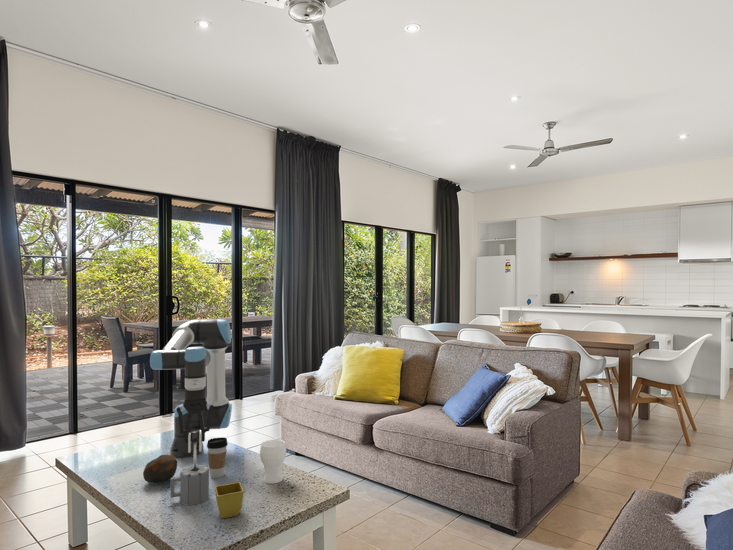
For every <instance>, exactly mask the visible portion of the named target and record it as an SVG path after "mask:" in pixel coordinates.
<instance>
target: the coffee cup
mask: <svg viewBox="0 0 733 550" xmlns="http://www.w3.org/2000/svg"><path fill="white" fill-rule="evenodd" d="M227 447H228V439H227V437H214V438H213V437H212V438H210V439H207V443H206V448H207V461H208V467H209V478H214V479H216V478H221V477H223V476H224V475H225V474H226V473H225V470H226V461H227Z"/></svg>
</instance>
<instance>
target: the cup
mask: <svg viewBox="0 0 733 550" xmlns="http://www.w3.org/2000/svg"><path fill="white" fill-rule="evenodd" d="M260 445H261V446H260V450H259V458H260V460H261V463H262V464H263V469H264V476H263V482H264V483H265V484H277V483H280V482H282V481H283V480H284V478H283V473H282V472H283V471H282V469H283V468H282V467H283V464H284V462H285V459H286V456H287V445H286V442H285V441H284V440H282V439H269V440H265V441H262V442H261V444H260Z"/></svg>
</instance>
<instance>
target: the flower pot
mask: <svg viewBox="0 0 733 550" xmlns="http://www.w3.org/2000/svg"><path fill="white" fill-rule="evenodd" d="M214 490H215V491H214V492H215V500H216V505H217V509H218V512H219V515H220V518H222V519H227V518H231V517H237V516H238V515H239V514H240V512H241V509H242V508H243V501H244V493H245V491H244V488H243V486H242V483H241V481H238V482H232V483H227V484H220V485H217V486H214Z"/></svg>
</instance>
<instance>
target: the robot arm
mask: <svg viewBox="0 0 733 550" xmlns="http://www.w3.org/2000/svg"><path fill="white" fill-rule="evenodd" d="M171 336H172V337H171V338H170V340H169V341H168V342H167V344H165V346H164V347H163V348H162V349H160V350H159V349H157V350H153V351H152V352H151V353H150V357H149V367H150V368H151V369H152V370H155V371H157V370H160V371H162V370H163V371H164V370H184V388H185V389H184V401H183V403H182V404H179V405H177V406H176V407H175V408H174V415H173V418H174V419H173V422H174V423H173V426H174V427H173V428H174V429H173V439H172V443H171V446H170V449H169V450H170V451H169V452H170V453H169V455H172V456H175V457H176V458H187V457H188V458H191V457H194V442H192V441H191V432H192V431H199V432H200V433H199V441H196V456H198V455H199V454H202V453H203V452H204V449H205V448H204V443H205V439H206V433H207V432H209V431H210V430H221V429H222V430H223V429H226V428H229V426H230V424H231V416H232V412H233V411H232V410H233V403H229V402H230V400H229V399H228V397H226V350H227V348H228V347H229V344H231V343H232V332H231V326H230V322H229V321H228V320H227V319H223V318H221V319H220V318H214V319H211V318H207V319H206V318H205V319H204V318H203V319H192V320H188V321H186V322H184V323H182V324H181V325H179V326H178V327H176V328H175V329H174V331H173V332H172V335H171ZM190 345H202V346H190ZM188 346H190V347H188ZM205 387H206V388H205ZM203 442H204V443H203Z"/></svg>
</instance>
